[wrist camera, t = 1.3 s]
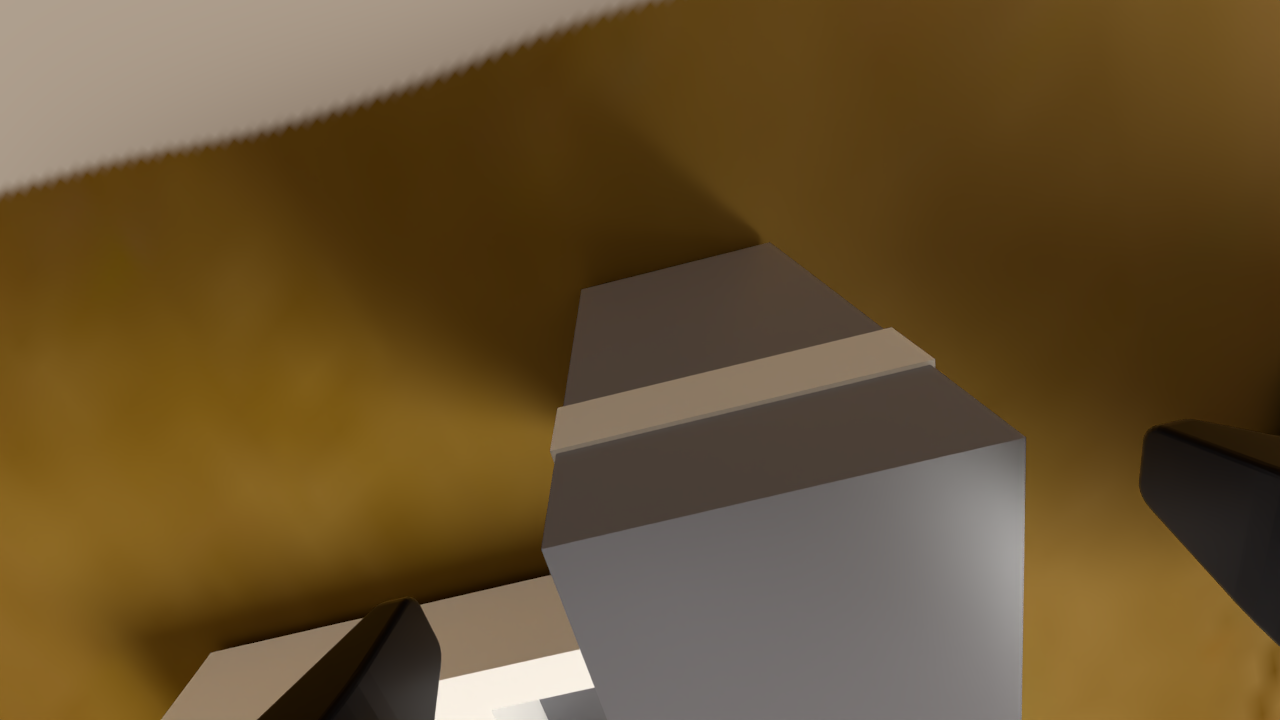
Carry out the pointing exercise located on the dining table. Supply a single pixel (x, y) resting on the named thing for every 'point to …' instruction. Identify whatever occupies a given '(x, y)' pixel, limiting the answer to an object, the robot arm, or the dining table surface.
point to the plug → (780, 508)
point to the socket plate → (470, 662)
